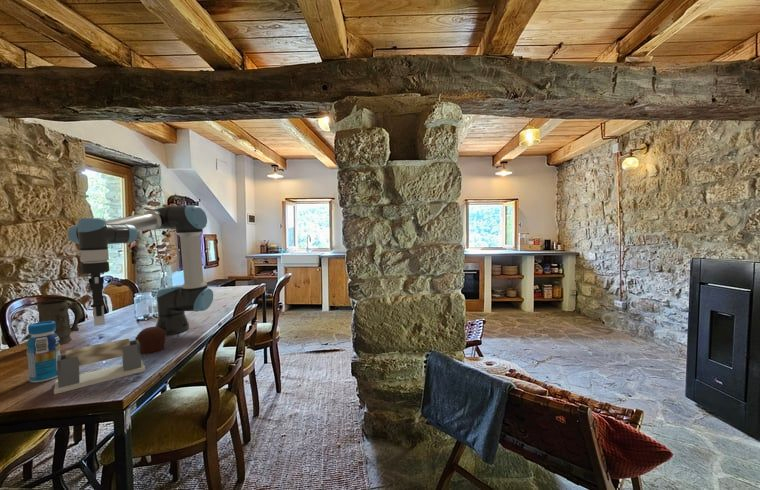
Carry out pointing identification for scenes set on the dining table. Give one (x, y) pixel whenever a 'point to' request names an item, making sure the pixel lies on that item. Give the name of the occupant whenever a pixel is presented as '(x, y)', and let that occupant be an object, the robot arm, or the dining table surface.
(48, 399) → the dining table surface
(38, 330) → the beverage bottle
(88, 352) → the rail
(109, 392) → the dining table surface
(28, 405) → the dining table surface
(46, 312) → the beer stein
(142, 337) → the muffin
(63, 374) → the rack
